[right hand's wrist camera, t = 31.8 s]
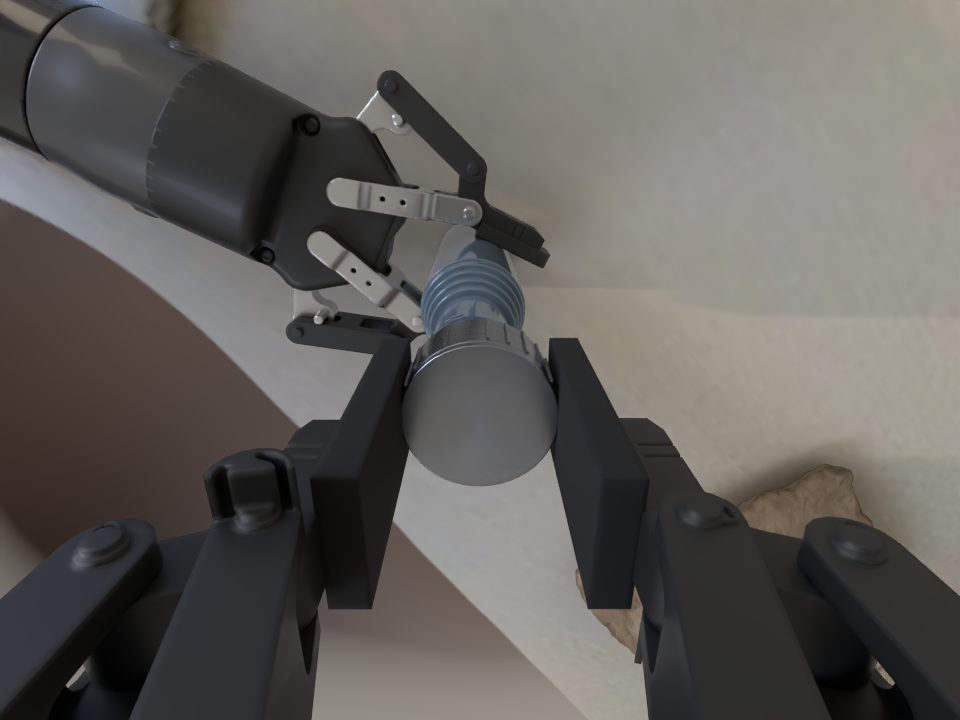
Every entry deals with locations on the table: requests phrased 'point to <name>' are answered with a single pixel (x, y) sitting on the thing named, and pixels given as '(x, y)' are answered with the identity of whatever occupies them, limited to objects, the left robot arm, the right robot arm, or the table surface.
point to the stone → (768, 512)
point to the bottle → (471, 283)
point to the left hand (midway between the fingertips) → (520, 300)
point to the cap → (479, 403)
